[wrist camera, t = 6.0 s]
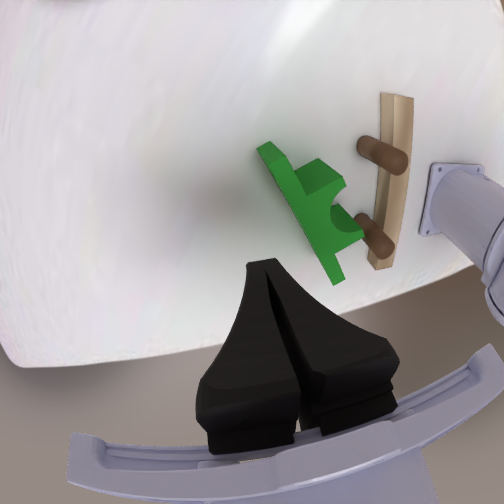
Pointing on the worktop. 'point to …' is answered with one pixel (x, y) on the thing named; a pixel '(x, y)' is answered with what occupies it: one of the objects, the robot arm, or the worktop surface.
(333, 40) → the worktop surface
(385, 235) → the peg rack
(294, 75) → the worktop surface
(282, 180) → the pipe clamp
